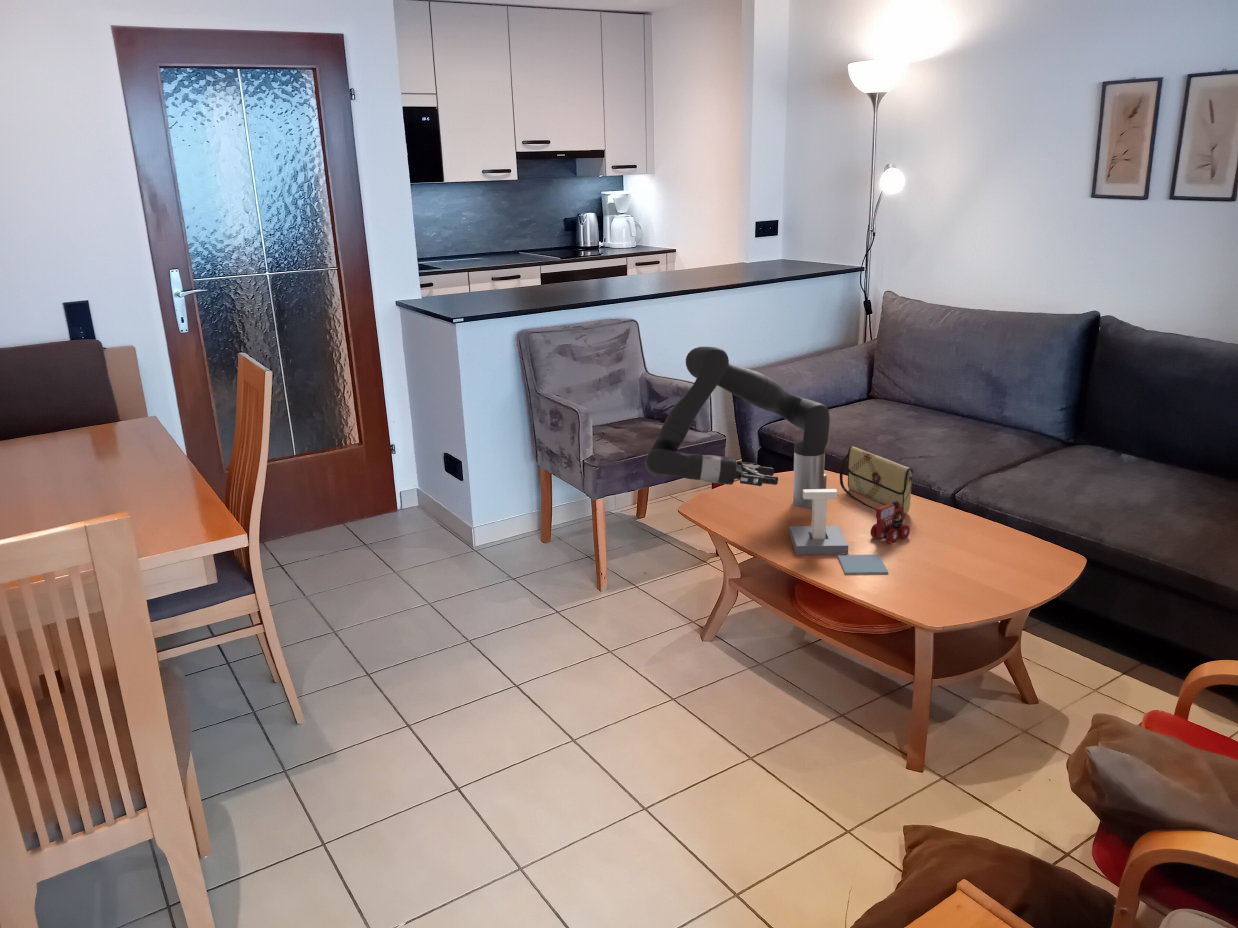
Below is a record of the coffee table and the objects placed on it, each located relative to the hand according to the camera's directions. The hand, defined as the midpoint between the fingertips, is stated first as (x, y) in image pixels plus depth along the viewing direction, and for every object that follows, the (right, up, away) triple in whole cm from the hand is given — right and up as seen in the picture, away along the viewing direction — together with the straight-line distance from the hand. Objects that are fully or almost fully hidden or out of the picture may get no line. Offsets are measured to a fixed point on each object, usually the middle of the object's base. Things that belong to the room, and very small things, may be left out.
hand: (775, 476), depth 242 cm
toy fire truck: (+34, -18, +8) cm, 39 cm away
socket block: (+13, -19, +5) cm, 24 cm away
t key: (+13, -19, +5) cm, 24 cm away
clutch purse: (+36, -9, +33) cm, 50 cm away
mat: (+21, -23, -9) cm, 33 cm away
